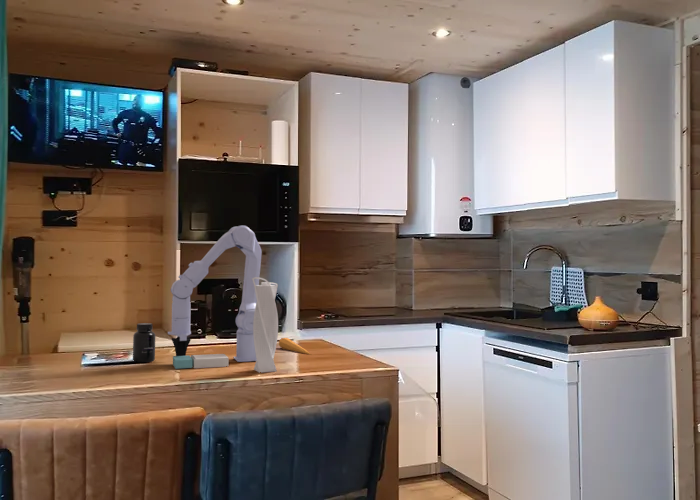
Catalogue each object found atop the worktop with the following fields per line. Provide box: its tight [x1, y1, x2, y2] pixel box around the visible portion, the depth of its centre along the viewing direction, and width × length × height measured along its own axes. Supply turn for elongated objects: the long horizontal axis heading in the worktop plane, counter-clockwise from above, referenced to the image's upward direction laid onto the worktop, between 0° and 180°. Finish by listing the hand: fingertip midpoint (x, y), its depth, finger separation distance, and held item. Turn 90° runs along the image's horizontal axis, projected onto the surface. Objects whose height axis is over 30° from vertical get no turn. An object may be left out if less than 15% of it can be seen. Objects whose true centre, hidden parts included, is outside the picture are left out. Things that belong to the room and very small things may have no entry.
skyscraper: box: [252, 277, 279, 373], centre depth 186 cm, size 8×8×28 cm
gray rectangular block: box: [190, 353, 229, 369], centre depth 194 cm, size 10×8×3 cm
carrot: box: [278, 337, 312, 356], centre depth 223 cm, size 20×4×4 cm, turn 38°
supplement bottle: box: [132, 322, 156, 363], centre depth 200 cm, size 7×7×12 cm
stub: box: [172, 355, 193, 370], centre depth 191 cm, size 5×8×2 cm, turn 21°
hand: (180, 360), depth 196 cm, fingers closed
